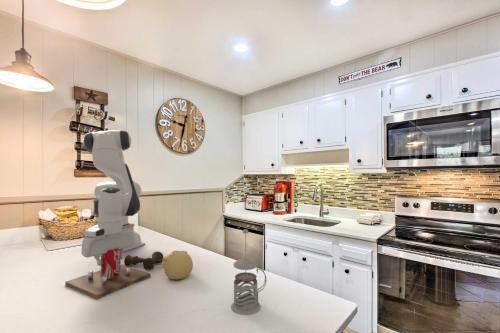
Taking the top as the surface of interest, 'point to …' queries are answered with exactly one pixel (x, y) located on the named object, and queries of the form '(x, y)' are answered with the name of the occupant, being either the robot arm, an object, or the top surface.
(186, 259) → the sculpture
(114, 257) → the soda can
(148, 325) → the top surface
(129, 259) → the kendama
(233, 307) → the french press
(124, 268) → the peg board
